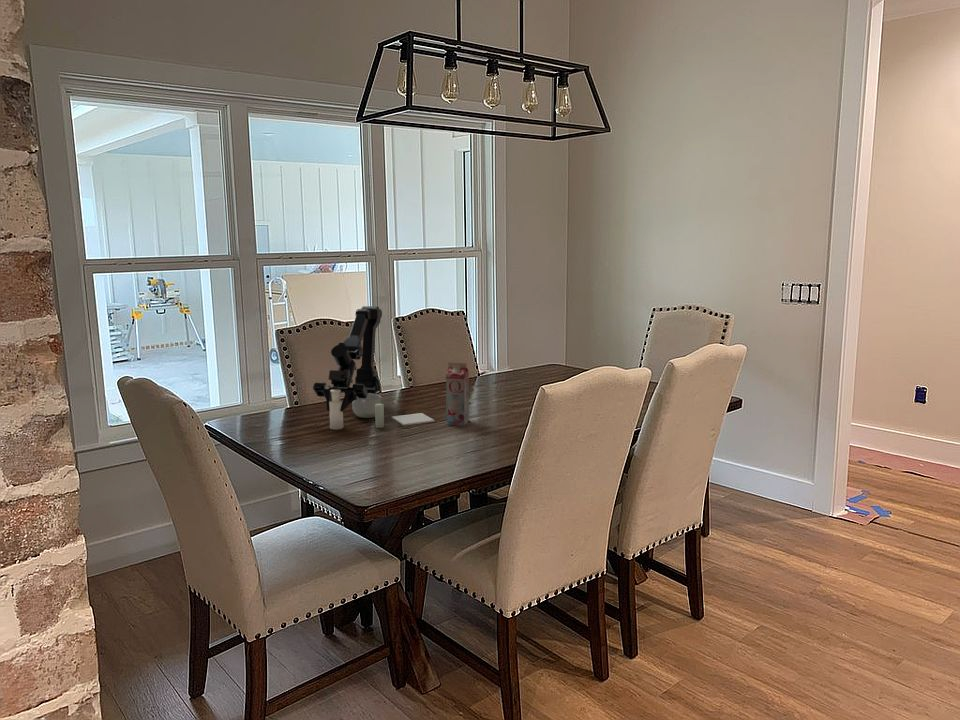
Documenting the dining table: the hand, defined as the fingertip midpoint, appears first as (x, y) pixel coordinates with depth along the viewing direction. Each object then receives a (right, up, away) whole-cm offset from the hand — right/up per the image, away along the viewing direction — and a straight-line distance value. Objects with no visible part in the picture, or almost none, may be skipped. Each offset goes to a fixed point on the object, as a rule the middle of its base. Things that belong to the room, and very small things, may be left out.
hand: (334, 410), depth 266 cm
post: (+15, -6, +4) cm, 17 cm away
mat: (+26, -4, +13) cm, 30 cm away
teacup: (+8, -4, +18) cm, 20 cm away
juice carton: (+43, -5, +9) cm, 44 cm away
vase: (0, -6, +3) cm, 7 cm away
